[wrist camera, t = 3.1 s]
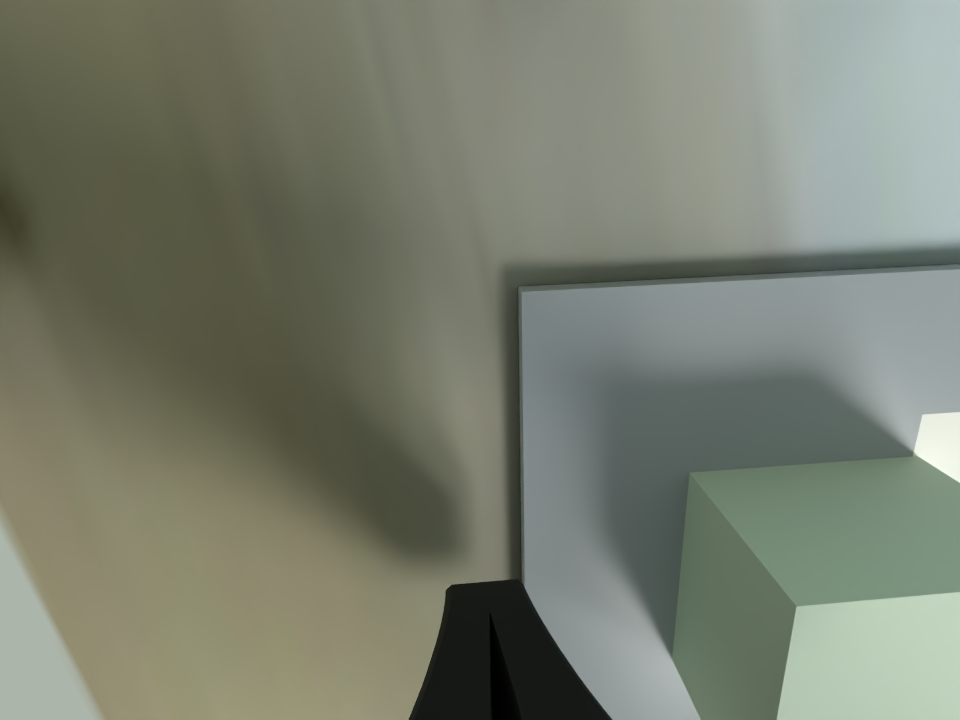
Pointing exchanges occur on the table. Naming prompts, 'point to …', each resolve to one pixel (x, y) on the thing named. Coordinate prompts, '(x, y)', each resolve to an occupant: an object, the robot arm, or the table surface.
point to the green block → (821, 592)
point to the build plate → (704, 431)
